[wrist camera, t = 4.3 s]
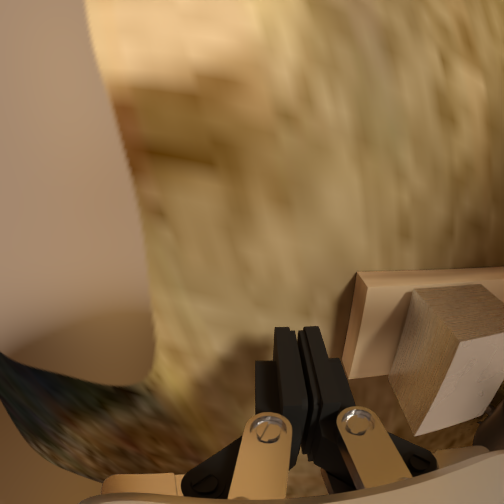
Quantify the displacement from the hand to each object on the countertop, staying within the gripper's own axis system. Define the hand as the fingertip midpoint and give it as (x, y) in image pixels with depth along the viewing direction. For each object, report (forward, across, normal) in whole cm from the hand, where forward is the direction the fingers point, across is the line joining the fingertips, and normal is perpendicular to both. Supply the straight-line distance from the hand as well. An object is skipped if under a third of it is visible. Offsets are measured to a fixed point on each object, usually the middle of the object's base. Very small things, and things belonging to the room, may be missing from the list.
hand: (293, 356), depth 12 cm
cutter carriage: (+1, -7, 0) cm, 7 cm away
